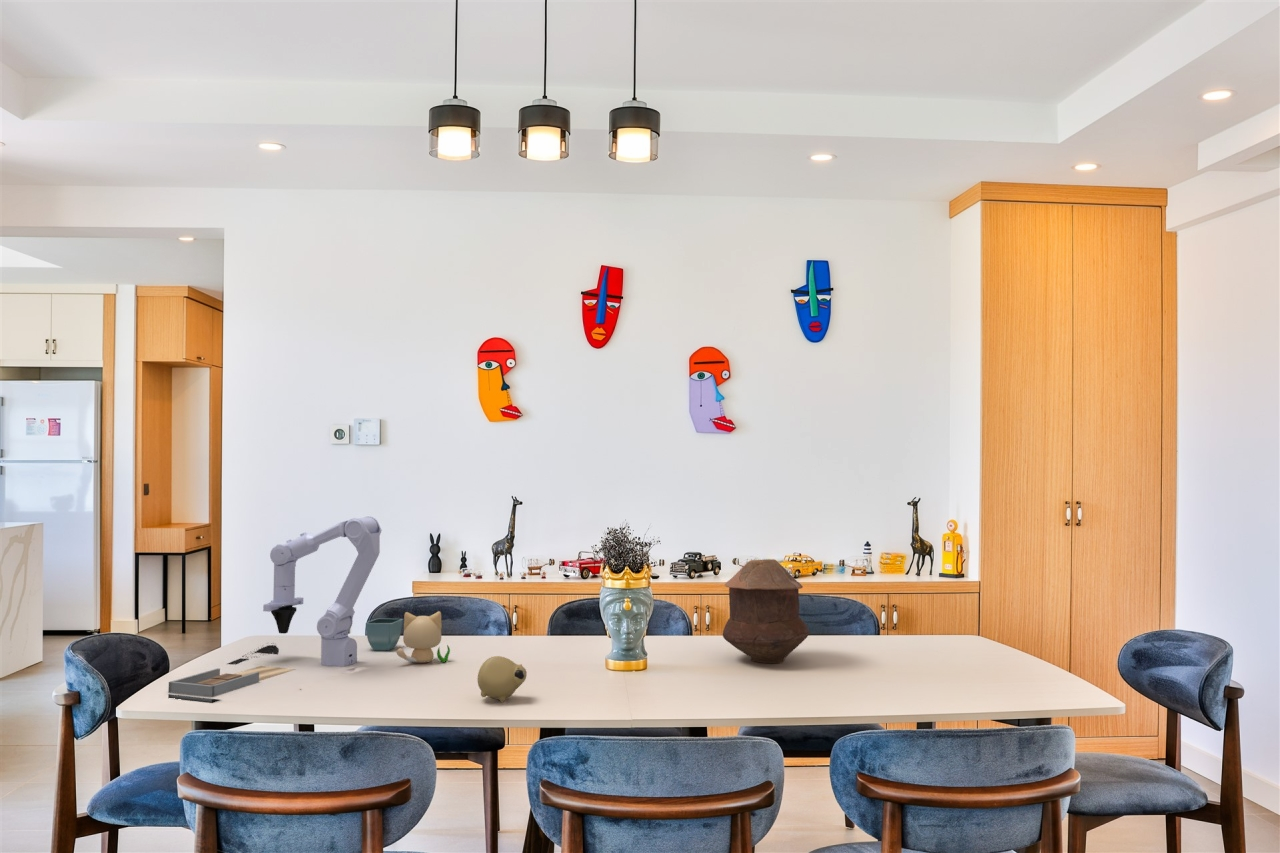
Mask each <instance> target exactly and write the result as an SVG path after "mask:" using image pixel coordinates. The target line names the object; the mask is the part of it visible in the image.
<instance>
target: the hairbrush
mask: <svg viewBox="0 0 1280 853" xmlns="http://www.w3.org/2000/svg"><path fill="white" fill-rule="evenodd" d="M267 644H268V645H267ZM255 649H256V650H254V651H253V650H251V651H250V652H247V654H244V655H242V656H241V657H242V658H238V659H234V660H231V661H230V662H228V663H227V665H235V666H236V665H238V664H240V663H242V662H245V661H249V660H251V659H252V658H259V656H262V654H264V655H279V651H280V648H279V647H278V646H277V645H276V644H275V642H272V643H271V645H270V644H269V642H267V643H266V646H264V644H262V645H261V646H260V648H255ZM256 654H259V656H251V655H256ZM248 656H250V658H251V659H250V658H248ZM244 657H245V658H244Z"/></svg>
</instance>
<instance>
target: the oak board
mask: <svg viewBox="0 0 1280 853" xmlns="http://www.w3.org/2000/svg"><path fill="white" fill-rule="evenodd" d="M295 670H296V669H295V668H290V667H289V668H288V667H287V668H286V667H276V666H274V667H273V666H266V665H265V666H264V665H260V666H255V667H253V668H249V669H246V670H243V671H239V672H236V673H234V674H239V675H242V676H245V675H248V674H252V673H255V672H259V682H261V681H264V680H266V679H270V678H273V677H276V676H278V675H280V676H281V675H282V674H286V673H289V672H292V671H295Z"/></svg>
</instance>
